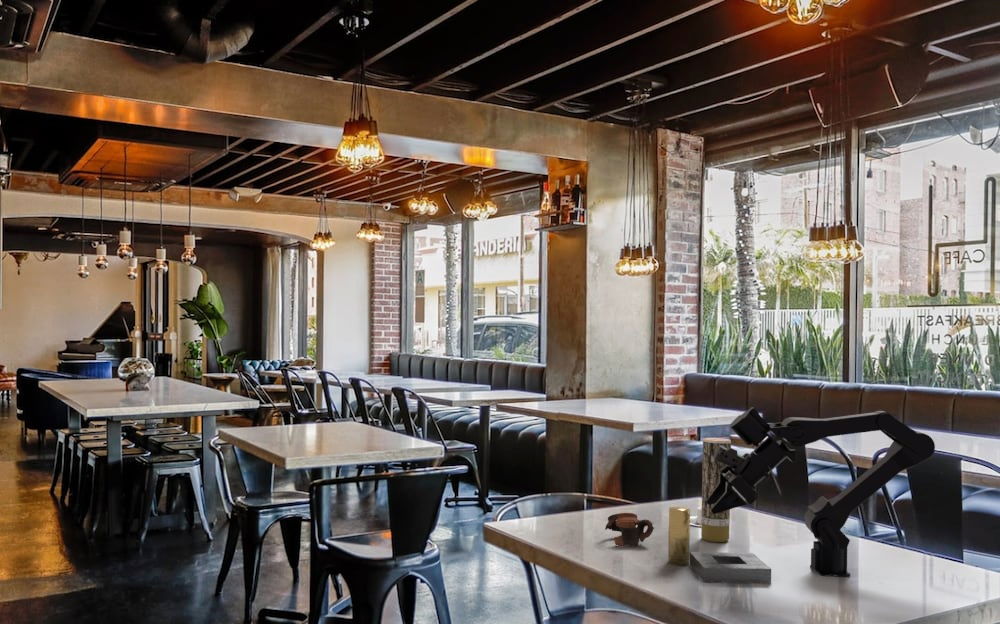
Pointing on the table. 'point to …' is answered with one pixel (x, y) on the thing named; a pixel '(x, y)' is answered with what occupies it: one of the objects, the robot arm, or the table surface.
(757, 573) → the jig plate
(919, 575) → the table surface
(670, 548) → the brass cylinder
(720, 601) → the table surface
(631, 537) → the pottery mug
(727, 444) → the bark covered log
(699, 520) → the candle holder
